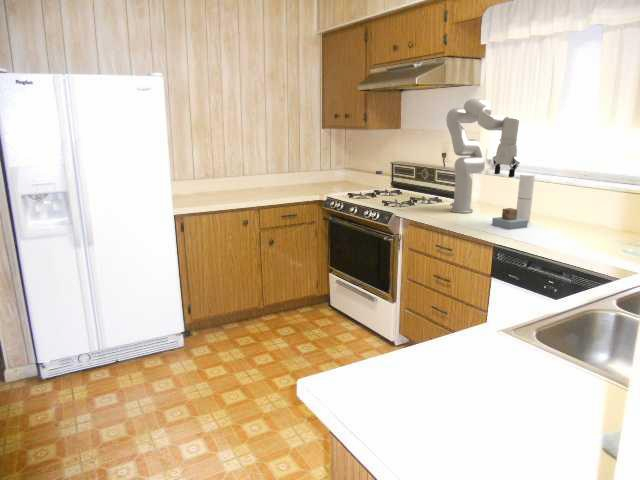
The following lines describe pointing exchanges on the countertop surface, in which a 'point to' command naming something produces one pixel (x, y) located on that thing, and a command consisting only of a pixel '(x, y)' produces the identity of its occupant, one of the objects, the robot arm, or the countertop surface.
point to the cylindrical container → (525, 196)
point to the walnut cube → (509, 214)
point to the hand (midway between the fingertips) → (504, 175)
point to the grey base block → (510, 223)
